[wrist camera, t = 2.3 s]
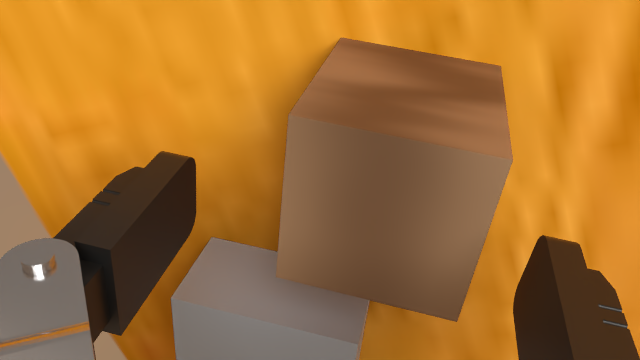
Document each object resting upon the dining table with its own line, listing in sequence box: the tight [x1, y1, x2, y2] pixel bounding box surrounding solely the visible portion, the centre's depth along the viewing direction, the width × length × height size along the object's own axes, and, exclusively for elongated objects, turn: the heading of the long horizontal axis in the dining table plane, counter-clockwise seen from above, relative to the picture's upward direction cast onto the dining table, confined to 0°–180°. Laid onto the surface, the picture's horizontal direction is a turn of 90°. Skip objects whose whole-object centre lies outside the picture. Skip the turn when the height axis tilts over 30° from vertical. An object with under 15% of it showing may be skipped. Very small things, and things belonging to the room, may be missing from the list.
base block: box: [171, 237, 370, 360], centre depth 23 cm, size 7×7×4 cm
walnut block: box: [276, 38, 513, 322], centre depth 16 cm, size 5×5×6 cm
